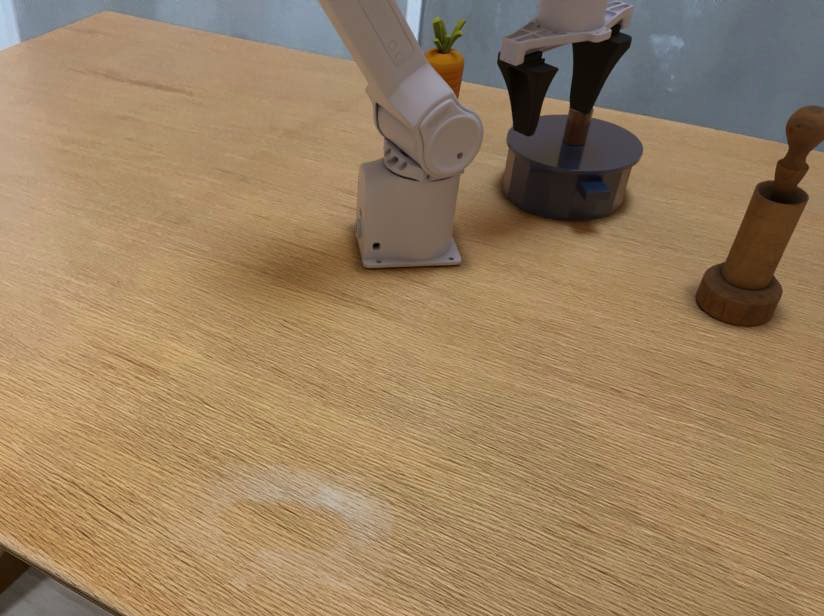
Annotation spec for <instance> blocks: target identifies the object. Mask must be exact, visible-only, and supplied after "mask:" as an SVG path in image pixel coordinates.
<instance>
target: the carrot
mask: <svg viewBox="0 0 824 616" xmlns="http://www.w3.org/2000/svg"><path fill="white" fill-rule="evenodd" d="M466 23H467V20H465V19H464V18H460V19H458V21H457V23H456V24H455V26H454V28H453V30H452V32H451V35H450V34H448V31H447V27H446V24H445V22H444V19H443V18H442V19H440V17H439V16H438V17H435V18H433V19H432V29H433V33H434V37H435V38H433V39H432V42H433V43H434V45H435V46H436V47H432V48H429V49H428V50H426V52H424V55H425V57H426V59H427V61H428V62H429V64H430V65H431V66H432V67H433V68H434V70H435V71H436V72H437V73H438V74H439V75H440V76H441V77H442V79H443V80H444V81H445V82H446V83H447V84H448V85H449V87H450V88H451V89H452V90H453V91H454V93H455V95H456V97H457V99H458V100H459V96H460V92H461V86H462V83H463V82H462V81H463V75H464V69H465V58H464V56H463V55H462V54H461V53H460V51H459V52H458V51H457V50H456V49H455V48H452V47H453V45H454V43H455V42H456V41H457V40H458V39H459V38H461V37H464V32H463V31H462V29H463V28H464V26H465V24H466Z"/></svg>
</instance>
